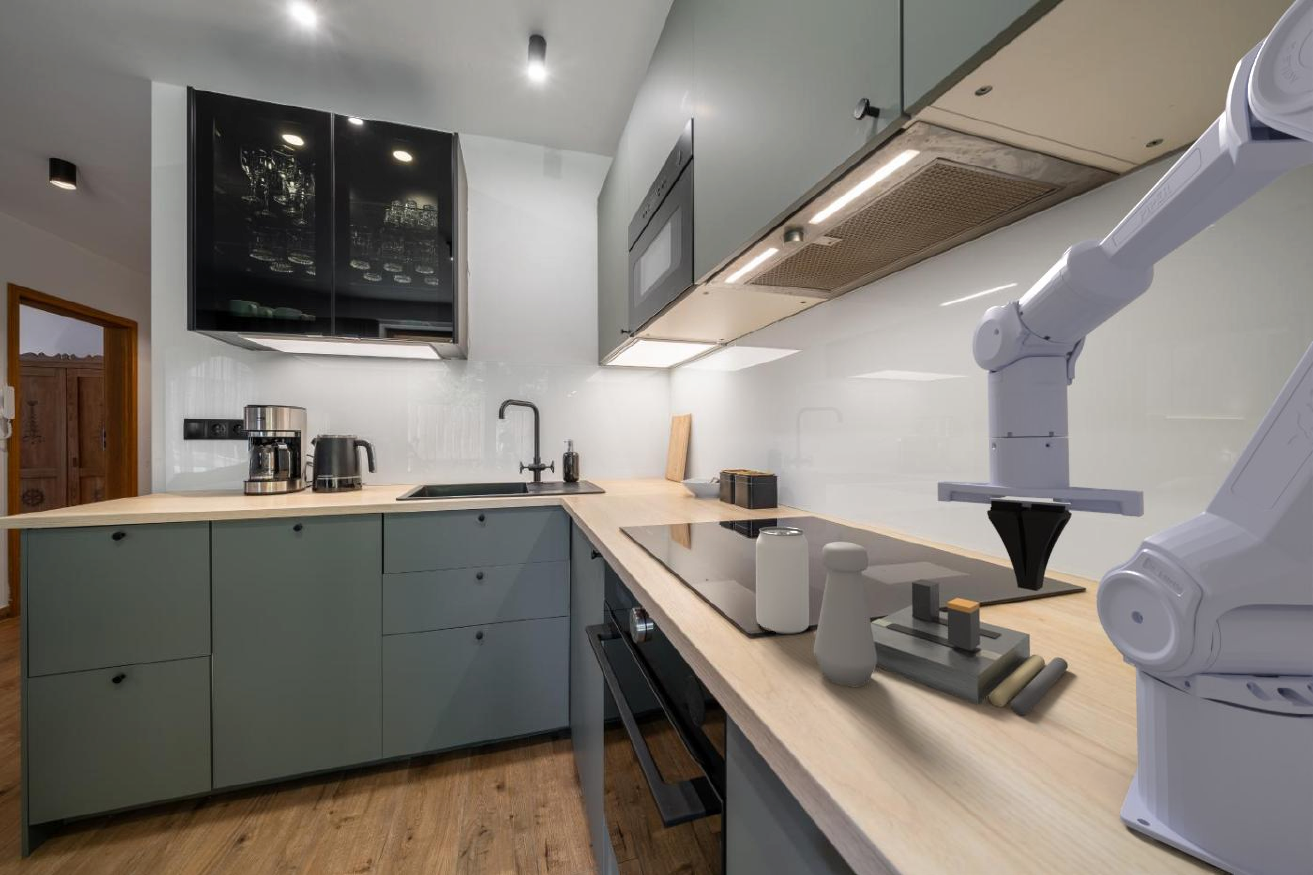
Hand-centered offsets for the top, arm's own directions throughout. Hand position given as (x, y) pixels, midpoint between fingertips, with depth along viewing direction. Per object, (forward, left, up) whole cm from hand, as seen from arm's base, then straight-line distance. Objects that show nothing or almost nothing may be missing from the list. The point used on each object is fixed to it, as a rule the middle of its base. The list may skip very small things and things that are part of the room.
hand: (1030, 587), depth 43 cm
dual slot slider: (+9, -2, -10) cm, 13 cm away
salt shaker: (+12, +10, -10) cm, 19 cm away
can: (+25, +4, -10) cm, 27 cm away
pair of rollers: (+1, -2, -10) cm, 10 cm away
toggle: (+5, 0, -7) cm, 9 cm away
